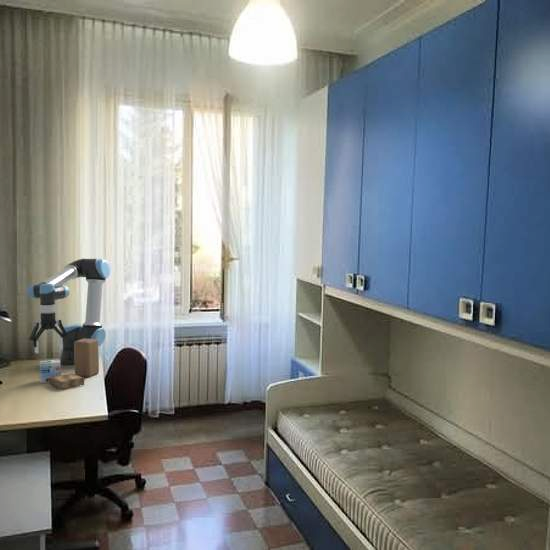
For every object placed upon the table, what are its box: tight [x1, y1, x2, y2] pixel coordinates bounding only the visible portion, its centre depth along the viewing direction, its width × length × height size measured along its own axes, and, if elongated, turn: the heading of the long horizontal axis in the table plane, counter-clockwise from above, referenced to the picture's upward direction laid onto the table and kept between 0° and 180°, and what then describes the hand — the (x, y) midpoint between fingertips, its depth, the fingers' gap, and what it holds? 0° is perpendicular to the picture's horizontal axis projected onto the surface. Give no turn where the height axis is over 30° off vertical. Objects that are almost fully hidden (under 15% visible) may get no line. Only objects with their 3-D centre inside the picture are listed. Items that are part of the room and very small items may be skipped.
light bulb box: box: [39, 359, 62, 384], centre depth 309 cm, size 11×7×11 cm, turn 117°
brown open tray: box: [48, 372, 85, 391], centre depth 301 cm, size 13×13×4 cm
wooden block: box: [73, 338, 100, 378], centre depth 322 cm, size 10×10×20 cm
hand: (49, 350), depth 308 cm, fingers open, 13 cm apart
